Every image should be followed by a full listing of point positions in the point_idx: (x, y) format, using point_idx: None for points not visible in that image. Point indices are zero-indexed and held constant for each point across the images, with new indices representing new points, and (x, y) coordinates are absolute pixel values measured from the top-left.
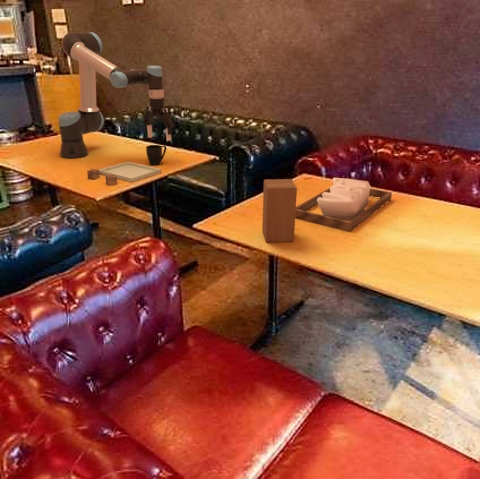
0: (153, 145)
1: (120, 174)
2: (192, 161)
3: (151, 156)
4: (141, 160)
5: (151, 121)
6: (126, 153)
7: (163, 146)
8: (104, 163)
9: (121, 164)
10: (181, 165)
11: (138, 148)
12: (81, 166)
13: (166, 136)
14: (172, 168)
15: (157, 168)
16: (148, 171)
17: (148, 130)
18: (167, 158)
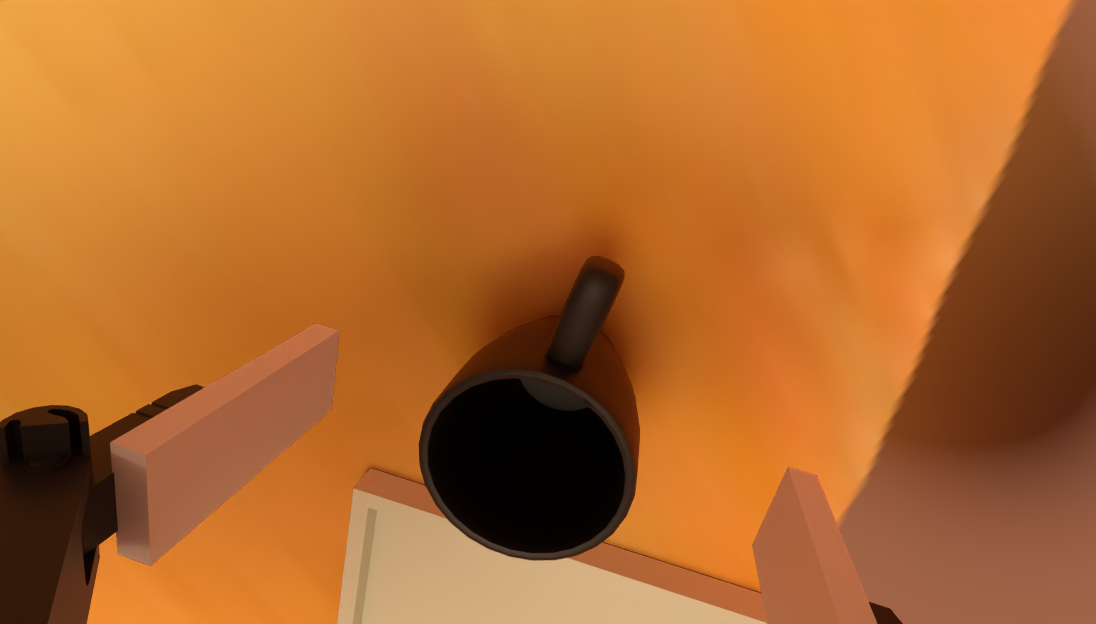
0: (465, 390)
1: None
2: (961, 94)
3: (558, 489)
4: (366, 292)
5: (70, 568)
6: (61, 102)
7: (599, 328)
8: None
9: (362, 563)
10: (873, 319)
11: None
12: (122, 577)
13: (770, 615)
14: (815, 449)
15: (733, 616)
16: (656, 618)
17: (238, 487)
18: (569, 99)
